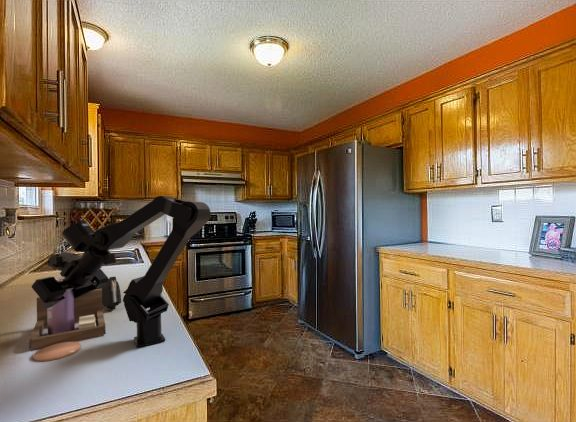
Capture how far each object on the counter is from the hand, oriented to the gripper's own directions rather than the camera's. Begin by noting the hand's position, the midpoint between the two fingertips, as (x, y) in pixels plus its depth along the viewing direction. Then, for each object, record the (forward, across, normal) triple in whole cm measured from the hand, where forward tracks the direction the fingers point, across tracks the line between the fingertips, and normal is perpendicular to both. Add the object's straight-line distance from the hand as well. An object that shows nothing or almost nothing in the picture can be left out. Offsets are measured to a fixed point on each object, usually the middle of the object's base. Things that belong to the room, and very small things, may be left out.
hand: (56, 303), depth 85 cm
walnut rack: (+4, -2, +8) cm, 9 cm away
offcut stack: (+1, -3, +11) cm, 11 cm away
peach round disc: (-2, +10, +14) cm, 17 cm away
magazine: (+13, -28, -2) cm, 31 cm away
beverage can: (+5, 0, +7) cm, 8 cm away
